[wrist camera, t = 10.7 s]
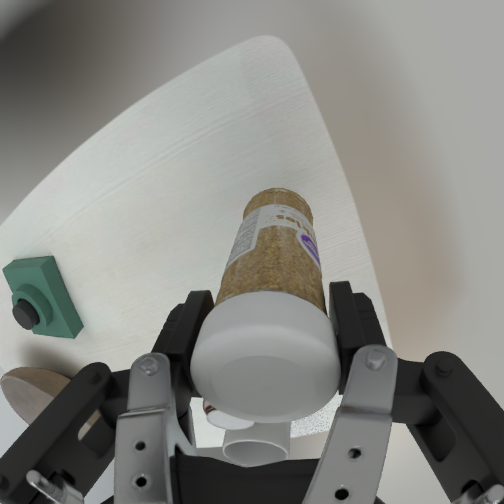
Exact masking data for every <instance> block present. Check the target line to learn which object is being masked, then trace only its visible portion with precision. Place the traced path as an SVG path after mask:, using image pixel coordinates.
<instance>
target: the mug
mask: <svg viewBox="0 0 504 504" xmlns="http://www.w3.org/2000/svg"><path fill="white" fill-rule="evenodd" d="M290 429H291V421H289V422H284V423H257V422H255V423H254V425H253V426H251V427H249V428H246V429H241V430H229V429H226V431H225V436H224V441H223V447H222V451H223V454H224V455H225V456H226V457H227V458H228V459H230V460H232V461H234V462H236V463H239V464H242V465H247V466H253V467H255V466H260V465H265V464H270V463H274V462H279V461H283V460H287V459H288V457H289V451H290Z"/></svg>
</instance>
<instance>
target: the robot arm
mask: <svg viewBox="0 0 504 504" xmlns="http://www.w3.org/2000/svg"><path fill="white" fill-rule="evenodd" d="M213 309H214V302H213V298H212V294H211V292H210V291H209V290H201V291H191V292H190V293H189V295H188V297H187V299H186V302H185V303H184V304H178V305H177V306H176V307H175V308H174V309H173V310H172V311H171V312H170V314H169V316H168V318H167V320H166V322H165V324H164V326H163V329H162V330H161V332H160V334H159V336H158V338H157V340H156V343H155V345H154V347H153V349H152V351H151V353H147V354H144V355H142V356H140V357H139V358H138V359H136V360H135V361H134V363H133V364H132V366H131V369H128V370H123V371H117V372H111V370H110V369H109V367H108V366H107V365H106V364H104V363H101V362H95V363H91V364H89V365H87V366H85V367H84V368H83V369H81V370H80V371H79V373H78V374H77V375H76V376H75V377H74V378H73V379H72V380H71V381H70V382H69V383H68V384H67V385H66V386H65V387H64V388H63V389H62V391H61V392H60V393H59V394H58V395H57V396H56V397H55V398H54V399H53V400H52V401H51V402H50V403H49V405H48V406H47V407H46V408H45V409H44V410H43V411H42V412H41V413H40V414H39V415H38V417H37V418H36V419H35V420H34V421H33V422H32V423H31V424H30V425H29V427H28V428H27V429H26V430H25V431H24V432H23V433H22V434H21V436H20V437H19V438H18V439H17V440H16V441H15V442H14V443H13V445H12V446H11V447H10V448H9V449H8V450H7V452H6V453H5V454H4V455H3V456H2V457H1V458H0V503H1V504H84V497H85V496H86V495H87V493H88V492H89V490H90V489H91V488H92V487H93V485H94V484H95V483H96V481H97V480H98V479H99V477H100V476H101V475H102V473H103V472H104V471H105V469H106V468H107V467H108V465H109V464H110V462H111V461H112V460H113V458H114V457H115V463H114V495H113V496H111V497H110V498H108V499H107V500H105V501H104V502H102V503H101V504H385V503H384V502H383V501H382V500H380V499H379V498H378V497H377V496H376V494H377V490H378V486H379V482H380V478H381V474H382V470H383V466H384V461H385V457H386V452H387V447H388V442H389V437H390V432H391V426H392V422H396V423H405V424H406V426H407V427H408V429H409V431H410V432H411V434H412V435H413V437H414V439H415V441H416V442H417V444H418V446H419V447H420V449H421V451H422V453H423V454H424V456H425V458H426V460H427V461H428V463H429V465H430V466H431V468H432V470H433V472H434V473H435V475H436V477H437V479H438V480H439V482H440V484H441V486H442V488H443V489H444V491H445V493H446V495H447V496H448V498H449V500H450V502H451V504H504V411H503V409H502V408H501V407H500V406H499V404H498V403H497V402H496V401H495V400H494V398H493V397H492V396H491V395H490V393H489V392H488V391H487V390H486V388H485V387H484V386H483V385H482V384H481V382H480V381H479V380H478V379H477V378H476V376H475V375H474V374H473V373H472V372H471V371H470V370H469V368H468V367H467V366H466V365H465V364H464V363H463V361H462V360H461V359H460V358H459V357H457V356H456V355H454V354H452V353H450V352H445V351H439V352H435V353H432V354H430V355H429V356H428V357H427V358H426V359H425V361H424V362H413V361H406V360H403V359H400V358H398V357H397V355H396V354H395V352H394V351H393V350H392V349H390V348H388V347H387V345H386V342H385V339H384V336H383V333H382V330H381V327H380V324H379V321H378V319H377V315H376V312H375V311H374V307H373V304H372V301H371V299H370V298H368V297H367V296H366V295H365V294H364V293H352V290H351V286H350V283H349V281H339V282H330V284H329V319H330V321H331V323H332V325H333V326H334V329H335V331H336V335H337V340H338V346H339V352H340V361H341V381H340V385H339V388H338V391H339V395H343V394H344V395H343V398H342V401H341V405H340V407H338V408H337V411H336V414H335V417H334V420H333V423H332V426H331V429H330V432H329V435H328V438H327V441H326V444H325V446H324V449H323V452H322V455H321V458H319V459H301V460H283V461H279V462H274V463H270V464H265V465H260V466H255V467H248V468H246V467H241V466H237V465H234V464H230V463H227V462H224V461H220V460H217V459H214V458H210V457H200V456H199V455H198V452H197V448H196V441H195V433H194V426H193V418H192V410H191V407H190V405H189V404H190V401H191V397H199V398H202V396H201V395H200V394H199V393H198V391H197V390H196V388H195V386H194V383H193V381H192V378H191V373H190V364H191V358H192V355H193V351H194V348H195V344H196V341H197V338H198V335H199V332H200V329H201V326H202V324H203V322H204V320H205V318H206V317H207V316H208V314H209V313H210V312H211V311H212V310H213ZM95 411H97V413H98V414H99V415H100V417H99V418H98V419H97V420H96V422H95V423H94V424H93V425H92V426H91V428H90V429H89V430H88V431H87V432H86V434H85V435H84V436H83V437H82V439H81V440H79V438H78V434H79V431H80V429H81V428H82V427H83V426H84V424H85V423H86V422H87V421H88V420H89V418H90V417H91V416H92V415H93V414H94V412H95Z"/></svg>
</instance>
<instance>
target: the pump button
mask: <svg viewBox="0 0 504 504" xmlns="http://www.w3.org/2000/svg"><path fill="white" fill-rule="evenodd" d="M12 311H13V315H14V317H15V319H16V321H17V322H18V323H19V324H20V325H21V326H22V327H23V328H25V329H27V330H31V329H32V328H33V327H34V325H35V324H36V323H37V322H38V321H39V319H40V318H39V315H38V313H37V311H36V309H35V308H34V306H33V305H32V304H31V303H30V302H28V301H27V300H25V299H21V300H20V301H19V302H18V303H17V304H16V305H15V306H14V307H13V310H12Z"/></svg>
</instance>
